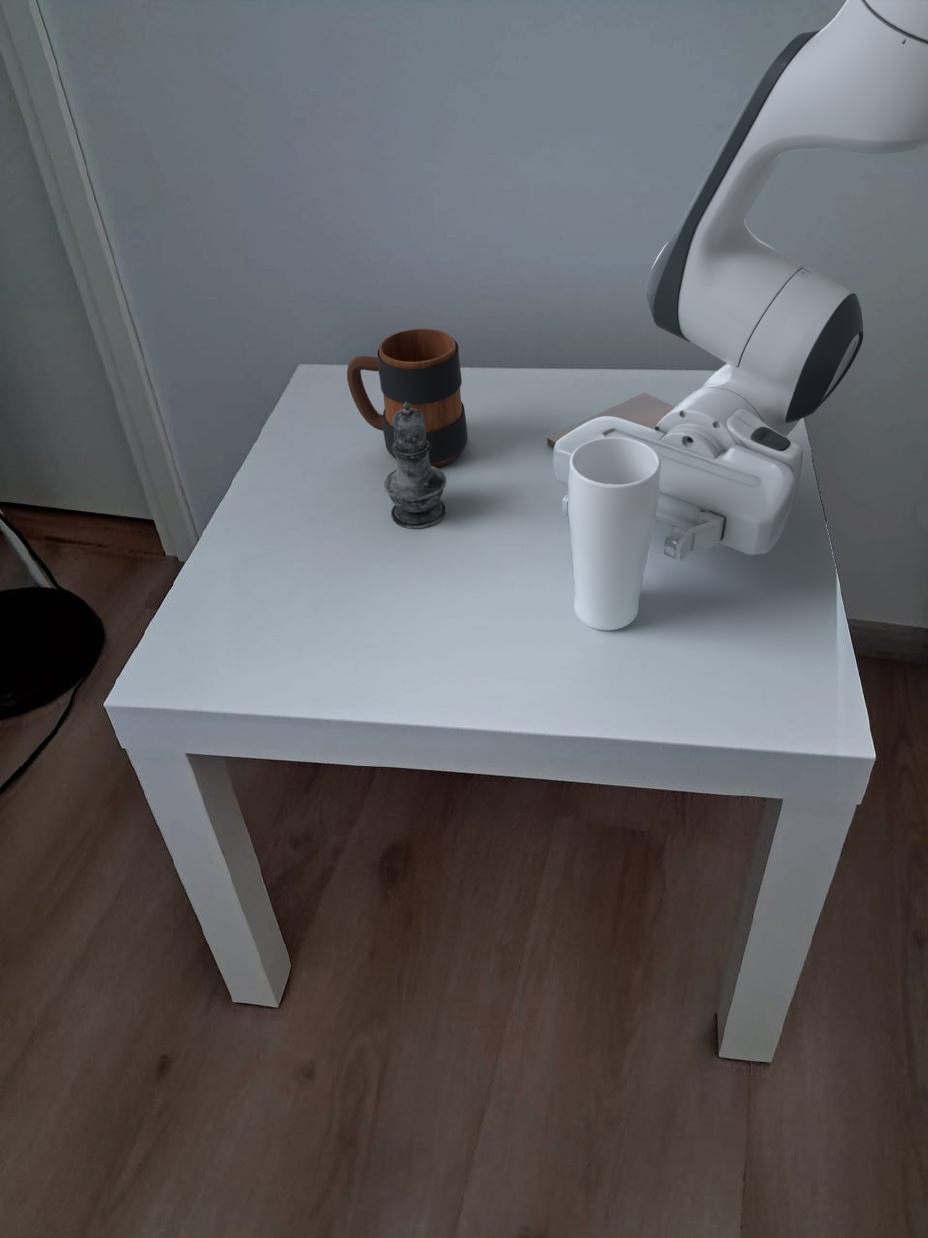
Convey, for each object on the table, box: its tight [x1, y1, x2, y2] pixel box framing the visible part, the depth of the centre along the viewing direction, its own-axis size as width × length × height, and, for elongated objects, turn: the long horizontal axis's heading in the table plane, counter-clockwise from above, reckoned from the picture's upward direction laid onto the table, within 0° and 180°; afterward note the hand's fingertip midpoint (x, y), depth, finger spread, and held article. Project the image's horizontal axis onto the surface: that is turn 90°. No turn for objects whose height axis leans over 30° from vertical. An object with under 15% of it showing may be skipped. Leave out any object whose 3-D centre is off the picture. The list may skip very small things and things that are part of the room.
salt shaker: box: [383, 402, 447, 530], centre depth 86 cm, size 6×6×12 cm
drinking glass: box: [567, 437, 661, 631], centre depth 73 cm, size 7×7×15 cm
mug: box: [346, 328, 469, 468], centre depth 95 cm, size 9×12×12 cm
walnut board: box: [546, 392, 675, 449], centre depth 96 cm, size 14×14×1 cm
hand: (619, 529), depth 74 cm, fingers open, 8 cm apart
